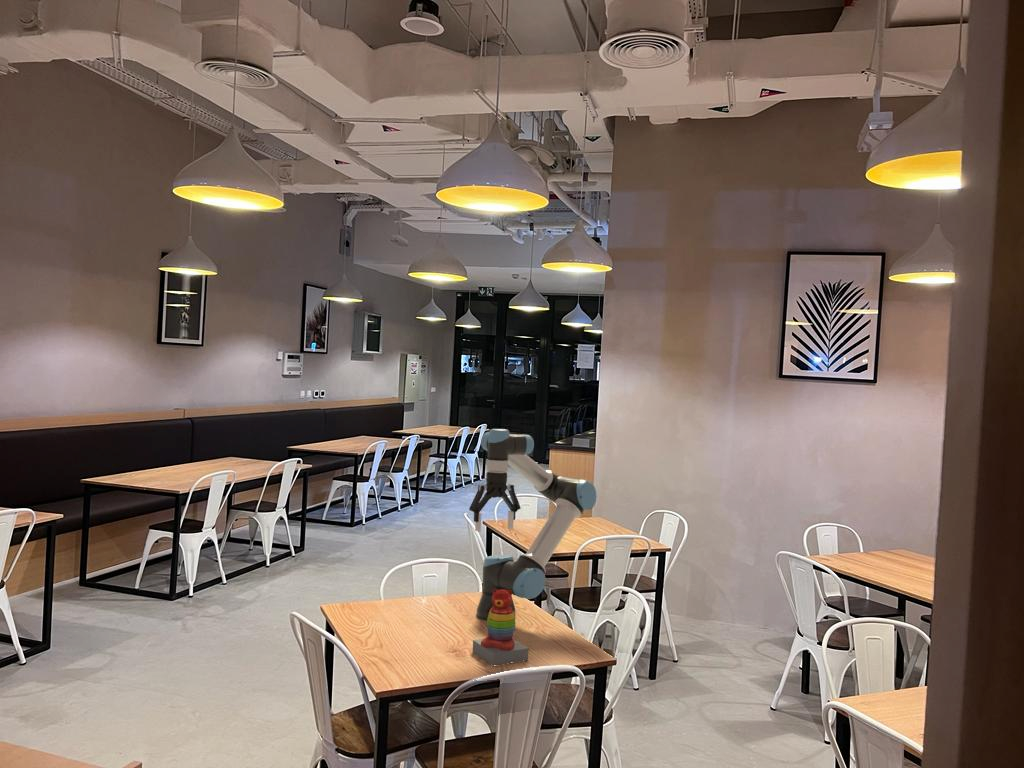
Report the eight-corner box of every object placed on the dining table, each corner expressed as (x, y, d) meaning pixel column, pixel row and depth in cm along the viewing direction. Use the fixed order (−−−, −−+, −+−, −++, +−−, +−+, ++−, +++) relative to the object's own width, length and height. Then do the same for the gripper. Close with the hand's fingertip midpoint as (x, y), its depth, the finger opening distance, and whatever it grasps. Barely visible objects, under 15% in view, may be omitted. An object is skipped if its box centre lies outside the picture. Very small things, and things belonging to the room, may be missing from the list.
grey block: (506, 646, 247) (506, 634, 247) (528, 660, 235) (528, 648, 235) (472, 652, 240) (473, 640, 240) (493, 666, 228) (494, 653, 228)
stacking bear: (478, 646, 234) (481, 591, 235) (490, 636, 244) (492, 584, 244) (510, 651, 231) (512, 595, 231) (520, 642, 240) (522, 588, 241)
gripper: (520, 470, 272) (517, 526, 272) (461, 470, 259) (458, 530, 259) (531, 472, 266) (528, 530, 266) (471, 473, 253) (468, 533, 253)
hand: (494, 530), depth 262 cm, fingers open, 13 cm apart
